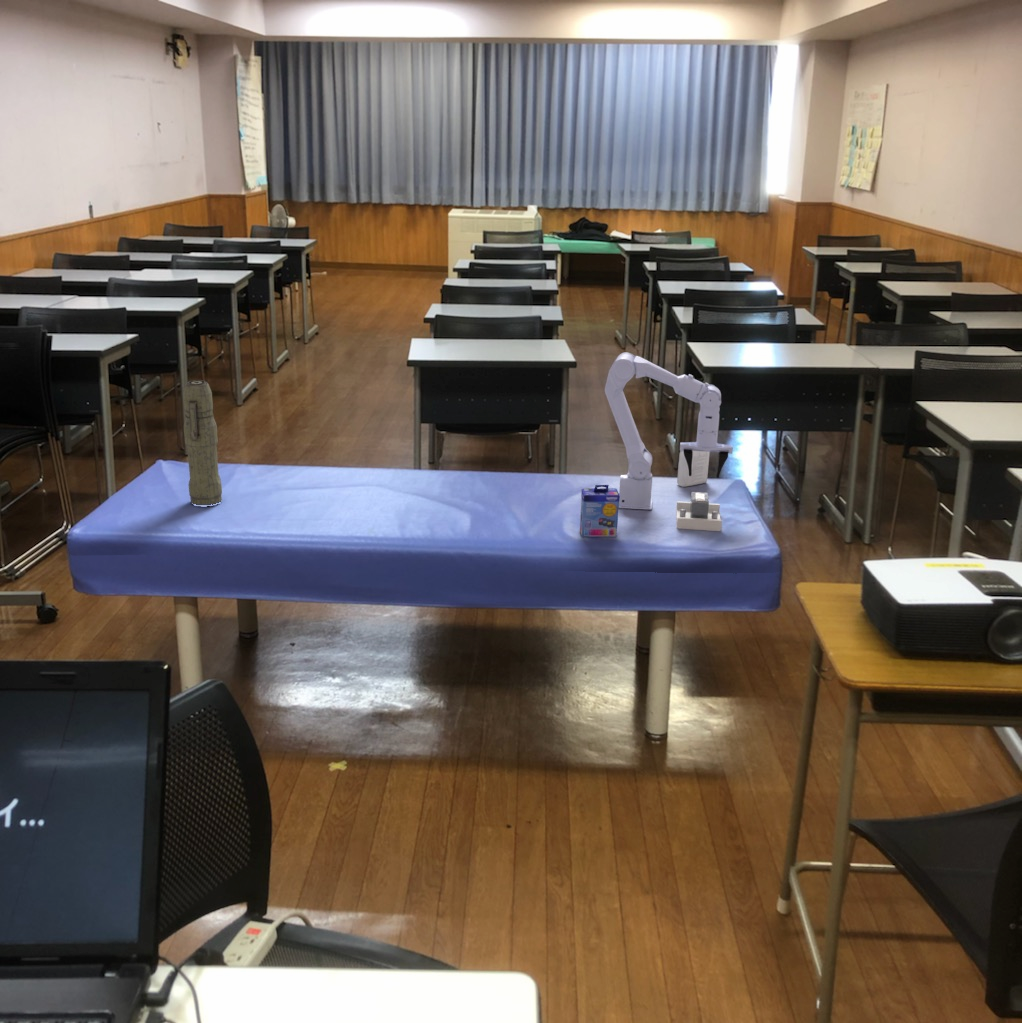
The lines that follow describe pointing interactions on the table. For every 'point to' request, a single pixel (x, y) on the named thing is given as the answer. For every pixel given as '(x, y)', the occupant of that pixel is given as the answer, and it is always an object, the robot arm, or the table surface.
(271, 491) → the table surface
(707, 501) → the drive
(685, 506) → the tray
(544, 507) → the table surface
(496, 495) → the table surface
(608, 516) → the ink cartridge box
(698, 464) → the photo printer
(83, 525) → the table surface
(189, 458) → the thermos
